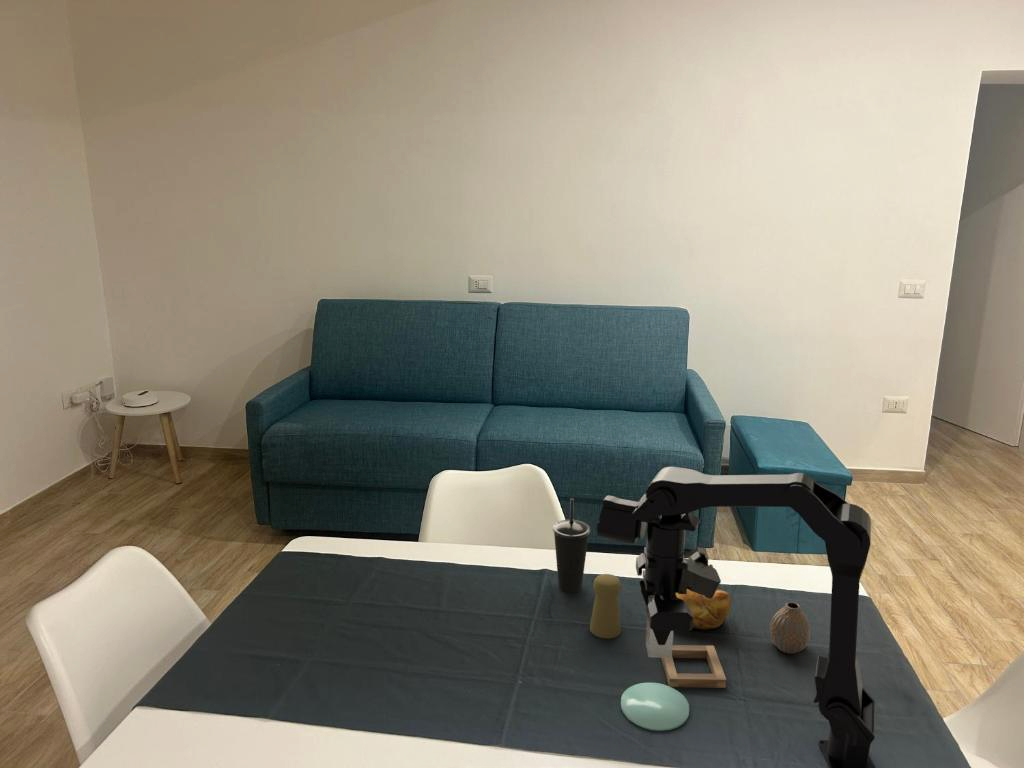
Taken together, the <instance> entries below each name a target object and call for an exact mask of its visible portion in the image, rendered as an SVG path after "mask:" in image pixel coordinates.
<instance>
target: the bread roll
mask: <svg viewBox="0 0 1024 768" xmlns="http://www.w3.org/2000/svg"><path fill="white" fill-rule="evenodd" d="M676 596H677V598H680V599H682V600H684V601H685V602H686V603H687V604H688V605H689V607H690V610H691V613H692V616H693V629H697V630H703V631H704V630H706V631H707V630H712V629H713V630H714V629H717V628H719V627H720V626H721V625H722V624H723V623H724V622H725V620H726V617H728V616H729V615H730V612H731V607H732V600H731V596H730V594H729V593H728V592H727V591H724V590H720V589H717V590H716V592H715V594H714V596H713V598H711V599H710V598H706V597H705V596H704V595H701V594H698V593H695V592H692V591H690V590H688V589H687V594H678V593H676Z"/></svg>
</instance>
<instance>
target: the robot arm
mask: <svg viewBox="0 0 1024 768" xmlns="http://www.w3.org/2000/svg"><path fill="white" fill-rule="evenodd" d="M712 507H713V508H714V507H719V508H720V507H721V508H722V507H723V508H726V507H727V508H728V507H729V508H737V507H738V508H745V507H746V508H747V507H749V508H791V509H792V510H793V511H794V512H795V513H797V514H798V515H799V516H800V518H802V520H803V521H804V522H805V523H806V524H807V526H808V527H809V528H810V529H811V530H812V532H813V533H814V534H815V535H816V536H818V537H819V538H820V539H821V540H823V541H824V543H825V550H826V551H825V552H826V556H827V561H828V566H829V569H830V572H831V596H830V598H831V599H830V602H831V603H830V620H829V621H830V623H829V624H830V625H829V645H828V646H829V649H828V655H827V657H825V656H822V655H819V654H818V655H817V658H816V666H815V672H814V673H815V675H814V685H815V687H814V694H813V695H814V696H813V703H815V704H817V703H818V707H817V708H818V711H819V714H820V715H821V716H823V717H824V718H825V719H826V720H827V721H828V722H829V732H828V739H820V740H819V741H818V746H819V748H820V750H821V752H822V754H823V756H824V759H825V761H826V762H827V765H828V767H829V768H876V766H875V765H874V763H873V761H872V758H871V757H870V750H871V744H872V743H873V741H874V740H875V737H876V736H875V734H876V733H875V731H876V730H875V729H876V701H875V699H874V698H873V696H871V694H870V693H869V692H868V691H867V690H866V689H865V688H864V687H863V681H862V675H861V668H860V664H859V660H858V657H857V641H858V640H857V638H858V617H859V600H860V599H859V598H860V582H861V577H862V574H863V572H864V569H865V566H866V562H867V561H868V560H867V559H868V557H869V556H868V555H869V552H870V549H871V542H872V541H871V536H872V519H871V516H870V514H869V513H868V512H867V510H866V511H865V508H863V507H860V506H859V505H857V504H853V503H850V502H848V501H846V499H844V498H843V497H842V496H840V495H839V494H838V493H836V492H835V491H833V490H831V489H829V488H828V487H825V486H823V485H822V484H819V483H818V482H816V481H815V480H814V479H813V478H812V477H811V476H809V475H808V474H806V473H803V472H794V473H791V474H737V475H736V474H728V475H726V474H725V475H718V474H717V475H712V474H707V473H703V472H700V471H697V470H696V469H695V470H694V469H691V468H685V467H684V468H683V467H678V466H667V467H666V466H665V467H663V468H662V469H660V471H659V472H658V473H656V475H655V476H654V478H653V480H652V481H651V482H650V484H649V485H648V486H647V489H646V492H645V493H644V494H643V496H642V497H641V498H640V499H639V500H638V501H636V500H629V499H624V498H619V497H617V496H614V495H606V496H605V497H604V499H603V500H602V508H601V511H600V513H599V519H598V522H597V524H596V532H597V533H596V534H597V537H598V539H599V538H600V539H604V540H609V541H615V542H620V543H626V544H629V545H635V544H636V543H637V541H638V540H643V539H644V537H645V534H646V546H644V548H643V552H642V553H640V554H639V555H638V556H636V557H635V571H636V576H642V580H639V582H638V584H639V589H640V592H641V594H642V595H641V596H642V598H643V601H644V604H645V607H644V609H645V613H646V619H647V618H648V621H649V625H650V628H651V629H652V630H653V632H654V635H655V638H656V640H657V643H658V645H665V644H666V641H667V639H668V637H669V634H670V632H671V631H673V632H690V631H692V630H693V629H694V628H693V616H692V613H691V610H690V607H689V605H688V604H687V603H686V602H685V601H684V600H682V599H680V598H677V596H676V593H678V594H687V589H688V590H690V591H692V592H695V593H698V594H701V595H704V596H705V597H706V598H710V599H711V598H713V596H714V594H715V592H716V590H718V589H719V586H720V584H721V581H722V580H721V578H720V575H719V573H718V570H717V569H716V568H714V565H713V564H709V559H708V556H707V554H706V553H704V552H702V551H700V550H697V551H696V552H694V553H693V554H692V555H690V556H688V558H686V557H685V545H686V544H685V542H686V531H689V532H696V531H697V528H698V526H699V524H700V522H701V520H700V518H699V517H698V516H697V515H696V514H694V513H693V512H696V511H699V510H701V509H705V508H712ZM646 530H647V531H646ZM646 532H647V533H646ZM649 595H653V598H654V600H653V601H652V602H651V603H649V604H648V596H649ZM660 598H661V599H660Z"/></svg>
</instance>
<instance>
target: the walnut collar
mask: <svg viewBox="0 0 1024 768" xmlns="http://www.w3.org/2000/svg"><path fill="white" fill-rule="evenodd" d="M674 659H706V660H707V664H708V667H709V669H710V672H711V673H681V672H680V673H677V669H676V666H675V662H674ZM661 661H662V666H663V669H664V672H665V673H664V674H665V677H666V681H667V686H669V687H672V688H709V689H710V688H716V689H717V688H720V689H721V688H723V689H725V688H727V677H726V675H725V673H724V672H725V671H724V669H723V666H722V664H721V662H720V659H719V656H718V654H717V651H716V648H715V645H692V644H690V645H689V644H688V645H685V644H683V645H682V644H678V645H677V644H672V658H661Z"/></svg>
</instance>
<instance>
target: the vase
mask: <svg viewBox="0 0 1024 768" xmlns="http://www.w3.org/2000/svg"><path fill="white" fill-rule="evenodd" d="M769 631H770V632H769V633H770V638H771V641H772V643H773V644H774V646H775V647H777V649H778V650H779V651H781V652H783V653H786V654H793V655H794V654H798V653H800V652H802V651H803V650H804V649H805V648H806V647H807V645H808V644H809V641H810V639H811V638H810V637H811V625H810V621H809V618H808V617H807V616H806V614H805V613H804V611H803V609H801V606H800V604H799V603H797V602H795V601H789V602H786V603H785V605H784V606H783V607H782V608H780V609H779V610H778V611H776V613H775V614H774V615H773V617H772V618H771V621H770V626H769Z"/></svg>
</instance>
